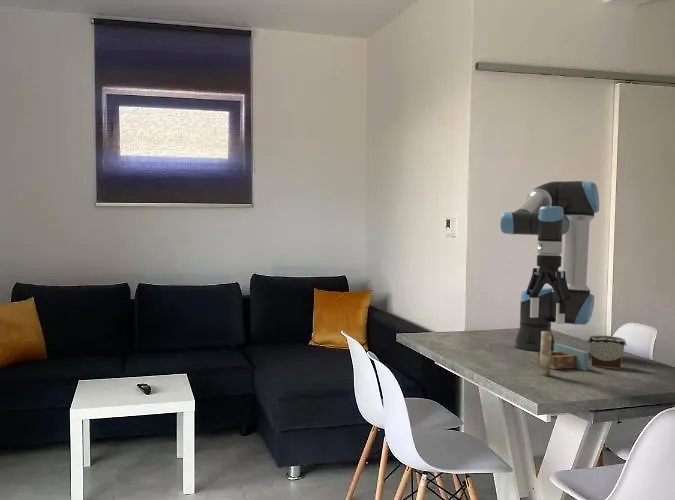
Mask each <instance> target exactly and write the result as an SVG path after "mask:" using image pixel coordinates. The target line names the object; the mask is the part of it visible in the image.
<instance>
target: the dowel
mask: <svg viewBox="0 0 675 500" xmlns="http://www.w3.org/2000/svg"><path fill="white" fill-rule="evenodd" d="M551 335H553V332H550V331H541V351H539V352H540V364H539V376H543V377H549V376H551V368H550V361H551V351H552V350H551Z"/></svg>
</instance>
